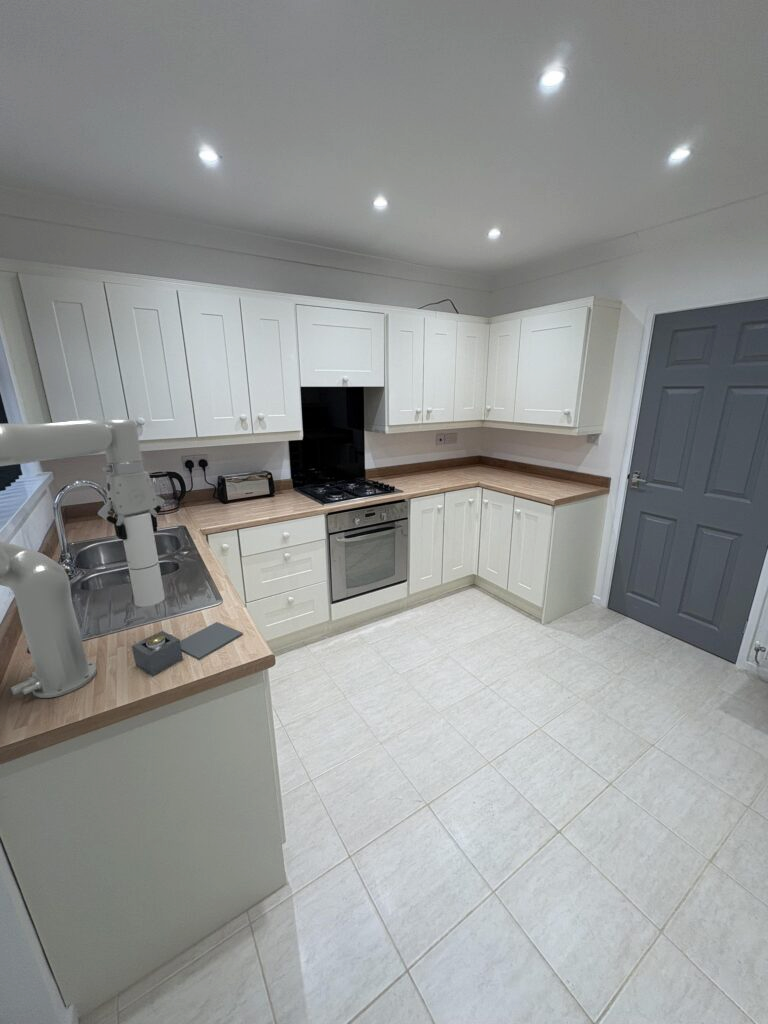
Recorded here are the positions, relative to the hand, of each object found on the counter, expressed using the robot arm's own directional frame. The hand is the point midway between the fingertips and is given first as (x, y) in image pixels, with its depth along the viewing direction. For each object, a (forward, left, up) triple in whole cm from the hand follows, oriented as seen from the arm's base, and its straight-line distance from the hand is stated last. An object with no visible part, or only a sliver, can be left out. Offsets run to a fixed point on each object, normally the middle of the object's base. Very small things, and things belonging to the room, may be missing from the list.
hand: (138, 534), depth 107 cm
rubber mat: (+7, -13, -32) cm, 35 cm away
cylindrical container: (0, 0, -19) cm, 19 cm away
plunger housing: (-6, -11, -32) cm, 34 cm away
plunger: (-6, -11, -30) cm, 33 cm away
